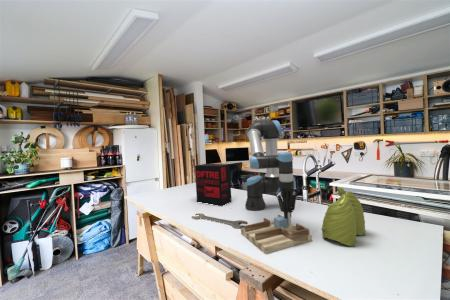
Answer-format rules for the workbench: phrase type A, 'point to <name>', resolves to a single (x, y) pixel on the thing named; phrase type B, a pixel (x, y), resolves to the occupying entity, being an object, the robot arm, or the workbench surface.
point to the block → (280, 222)
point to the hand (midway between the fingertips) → (288, 223)
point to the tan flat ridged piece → (275, 235)
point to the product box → (213, 183)
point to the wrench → (222, 221)
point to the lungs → (344, 219)
